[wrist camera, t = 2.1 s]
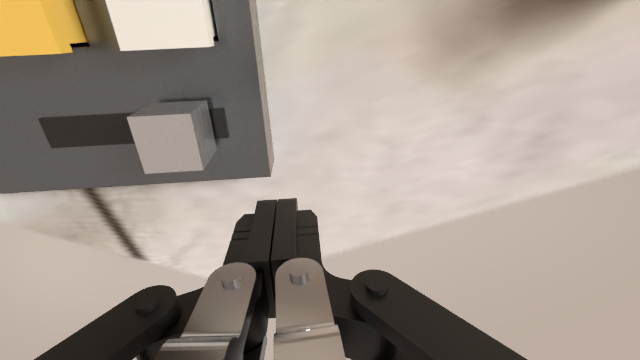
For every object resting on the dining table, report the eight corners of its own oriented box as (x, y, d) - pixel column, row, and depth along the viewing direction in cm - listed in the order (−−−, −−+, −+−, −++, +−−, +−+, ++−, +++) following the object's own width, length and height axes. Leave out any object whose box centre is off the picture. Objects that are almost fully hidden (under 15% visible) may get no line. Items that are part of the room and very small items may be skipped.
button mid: (0, -35, 21) (-90, -53, 16) (82, -37, 21) (17, -56, 16) (36, 51, 24) (-33, 58, 19) (109, 48, 24) (60, 53, 19)
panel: (-156, -55, 22) (-251, -72, 18) (247, -68, 23) (238, -86, 19) (-19, 176, 30) (-65, 198, 26) (273, 159, 31) (270, 177, 27)
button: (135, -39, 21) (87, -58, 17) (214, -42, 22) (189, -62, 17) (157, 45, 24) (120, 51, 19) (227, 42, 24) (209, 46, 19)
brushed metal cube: (152, 103, 23) (126, 117, 20) (206, 100, 23) (190, 113, 20) (166, 152, 25) (144, 173, 21) (216, 149, 25) (203, 170, 22)
